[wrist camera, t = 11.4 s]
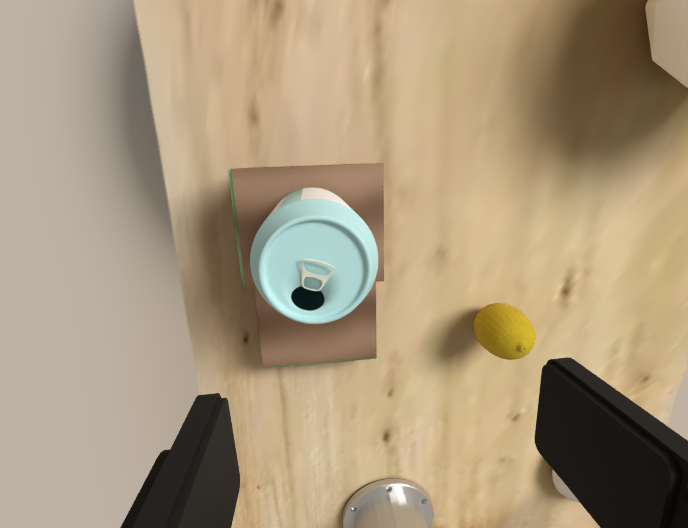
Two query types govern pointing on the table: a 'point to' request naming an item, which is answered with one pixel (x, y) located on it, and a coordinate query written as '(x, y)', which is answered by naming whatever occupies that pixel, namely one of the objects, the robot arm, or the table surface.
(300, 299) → the can
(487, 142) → the table surface
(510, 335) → the lemon
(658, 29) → the ball
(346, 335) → the stand
